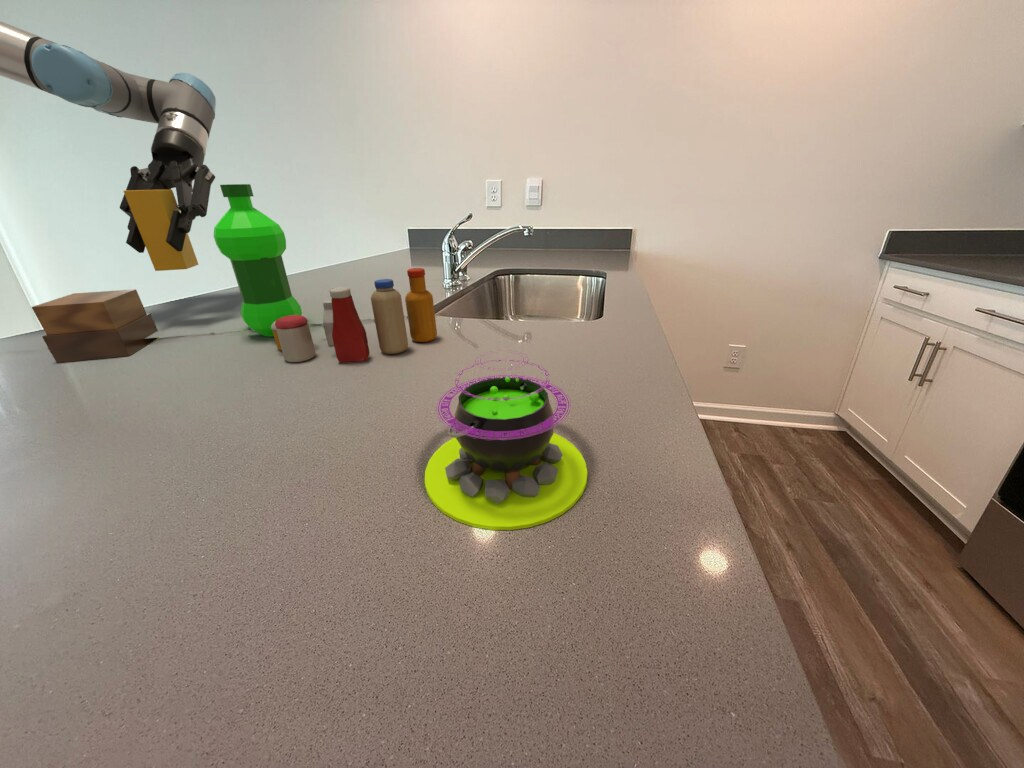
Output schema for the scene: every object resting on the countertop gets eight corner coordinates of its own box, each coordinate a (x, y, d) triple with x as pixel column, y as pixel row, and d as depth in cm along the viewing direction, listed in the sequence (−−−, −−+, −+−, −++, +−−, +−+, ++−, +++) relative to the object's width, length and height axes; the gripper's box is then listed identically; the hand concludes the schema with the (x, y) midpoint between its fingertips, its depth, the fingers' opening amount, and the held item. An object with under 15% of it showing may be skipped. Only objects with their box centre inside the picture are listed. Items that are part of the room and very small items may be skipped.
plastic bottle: (252, 345, 70) (200, 184, 59) (242, 331, 78) (195, 185, 67) (313, 332, 76) (276, 183, 65) (298, 320, 83) (263, 184, 72)
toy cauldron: (484, 414, 47) (478, 322, 42) (609, 449, 40) (620, 345, 35) (388, 490, 36) (365, 376, 31) (542, 559, 29) (543, 426, 24)
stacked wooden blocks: (56, 363, 65) (25, 307, 61) (97, 342, 74) (72, 293, 70) (129, 356, 67) (104, 302, 63) (160, 336, 76) (140, 288, 72)
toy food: (439, 333, 73) (432, 265, 68) (428, 361, 62) (418, 281, 57) (290, 338, 73) (271, 270, 68) (252, 366, 62) (225, 287, 56)
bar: (155, 271, 72) (122, 190, 67) (169, 266, 77) (139, 190, 71) (186, 269, 74) (157, 189, 68) (198, 264, 78) (172, 189, 72)
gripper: (111, 129, 74) (75, 234, 66) (218, 126, 75) (195, 230, 67) (145, 163, 81) (116, 262, 73) (243, 161, 82) (224, 258, 74)
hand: (154, 246), depth 70 cm, fingers closed on bar, 6 cm apart
